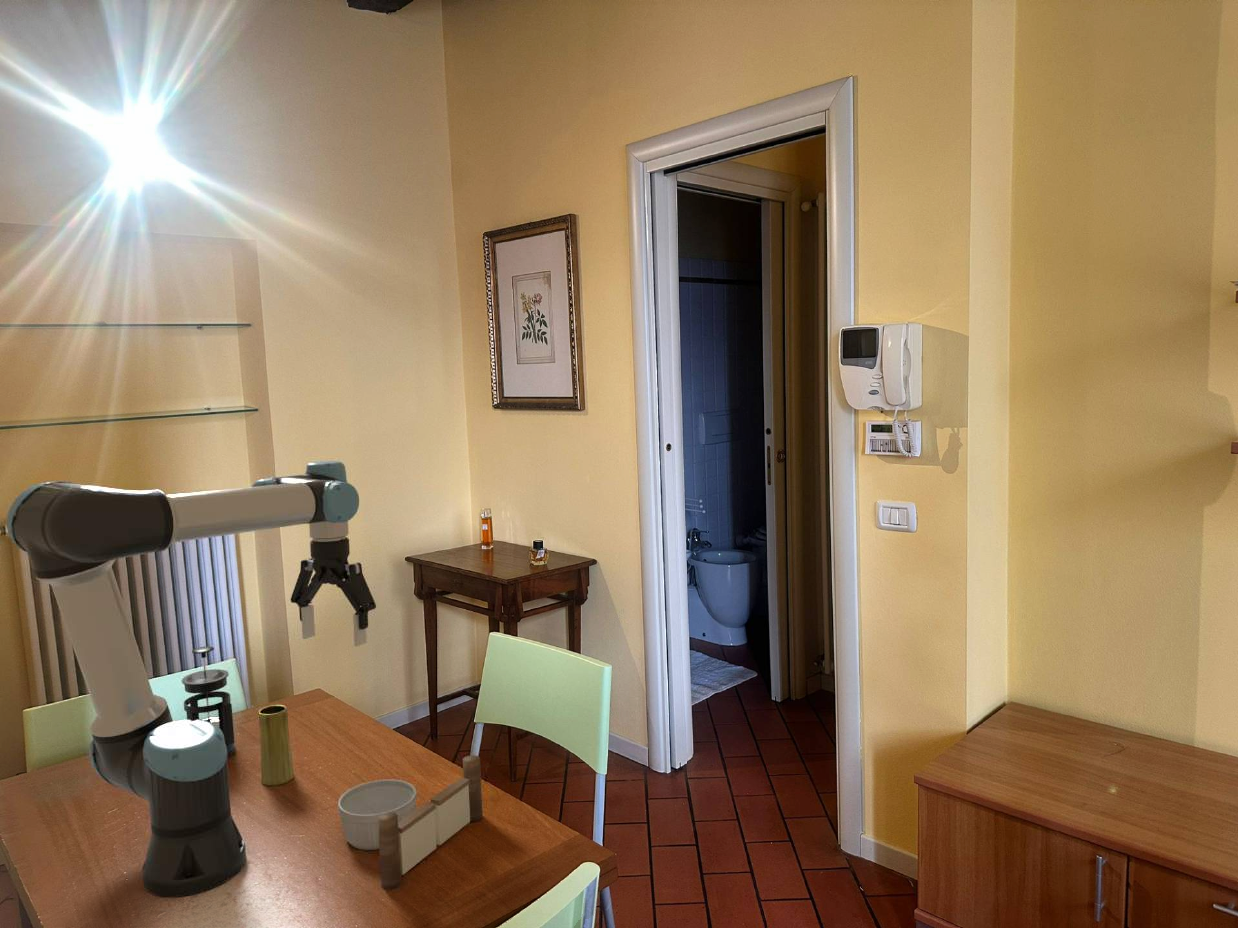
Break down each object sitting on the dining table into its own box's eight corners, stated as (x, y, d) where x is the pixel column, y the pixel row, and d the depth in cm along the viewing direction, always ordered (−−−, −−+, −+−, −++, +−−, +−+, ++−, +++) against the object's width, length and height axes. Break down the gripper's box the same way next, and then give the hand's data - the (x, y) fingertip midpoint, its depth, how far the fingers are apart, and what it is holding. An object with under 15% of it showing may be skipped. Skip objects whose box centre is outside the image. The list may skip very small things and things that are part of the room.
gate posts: (392, 890, 138) (388, 823, 136) (377, 886, 139) (373, 819, 138) (486, 815, 160) (483, 756, 159) (472, 812, 161) (469, 754, 160)
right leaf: (441, 845, 149) (439, 801, 149) (433, 842, 150) (430, 798, 149) (471, 821, 157) (469, 779, 156) (463, 819, 158) (461, 777, 157)
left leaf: (404, 874, 141) (401, 828, 140) (395, 872, 142) (392, 825, 141) (437, 848, 149) (435, 803, 148) (429, 845, 149) (426, 801, 148)
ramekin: (337, 823, 159) (335, 786, 158) (413, 808, 163) (411, 772, 162) (342, 862, 146) (340, 821, 145) (424, 844, 151) (421, 805, 150)
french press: (175, 757, 187) (165, 651, 185) (213, 740, 196) (205, 638, 193) (213, 767, 182) (204, 658, 179) (250, 749, 190) (242, 645, 188)
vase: (287, 785, 173) (281, 715, 172) (255, 786, 174) (250, 715, 172) (298, 771, 179) (294, 703, 178) (268, 771, 180) (263, 703, 178)
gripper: (391, 538, 178) (395, 642, 180) (296, 531, 189) (301, 629, 191) (365, 545, 171) (370, 652, 174) (269, 537, 182) (274, 638, 184)
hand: (334, 640), depth 182 cm, fingers open, 13 cm apart
